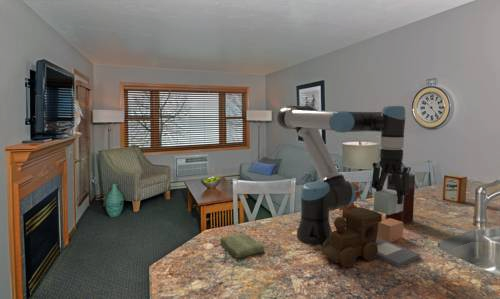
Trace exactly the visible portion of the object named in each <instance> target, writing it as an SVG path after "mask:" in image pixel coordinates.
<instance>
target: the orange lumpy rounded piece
mask: <svg viewBox="0 0 500 299" xmlns="http://www.w3.org/2000/svg"><path fill="white" fill-rule="evenodd" d="M351 183H352V184H353V185H354V187H355V190H356V198H355V201H357V199H359V197H360V196H361V192H360V191H359V190H360V186H359V185H358V184H356V183H355V181H352V182H351ZM355 201H354V202H353V204H352V205H350V206H348V207H345V208H340V209H338V211H339V212H340V211H342V212H343V211H344V210H347V209H352V208H359V207H358V206H357V205H355Z"/></svg>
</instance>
